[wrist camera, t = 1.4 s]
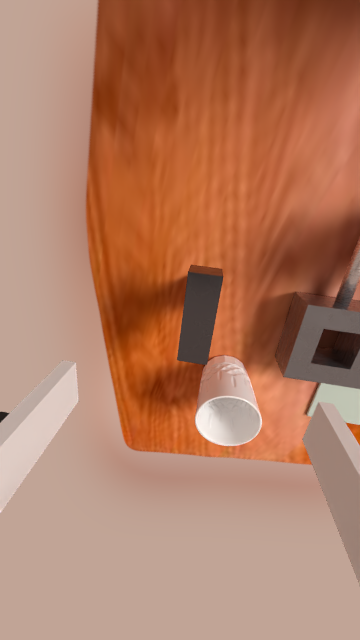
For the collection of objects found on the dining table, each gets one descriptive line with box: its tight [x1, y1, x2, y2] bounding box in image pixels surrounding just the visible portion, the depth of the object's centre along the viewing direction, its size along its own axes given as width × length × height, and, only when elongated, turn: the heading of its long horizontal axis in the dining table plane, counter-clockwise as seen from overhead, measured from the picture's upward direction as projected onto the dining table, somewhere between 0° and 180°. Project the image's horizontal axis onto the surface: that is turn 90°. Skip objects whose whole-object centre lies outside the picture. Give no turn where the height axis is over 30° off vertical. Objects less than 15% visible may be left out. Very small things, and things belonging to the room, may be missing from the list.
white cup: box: [195, 355, 262, 446], centre depth 35 cm, size 8×8×10 cm
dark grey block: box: [177, 265, 223, 365], centre depth 29 cm, size 9×3×12 cm, turn 173°
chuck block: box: [275, 237, 360, 389], centre depth 31 cm, size 18×10×5 cm, turn 174°
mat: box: [307, 383, 360, 425], centre depth 38 cm, size 9×9×1 cm
